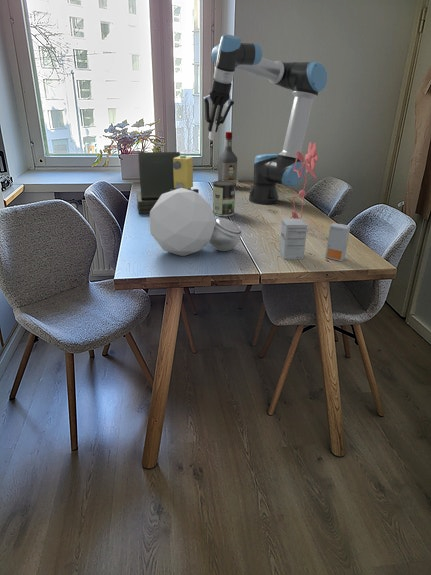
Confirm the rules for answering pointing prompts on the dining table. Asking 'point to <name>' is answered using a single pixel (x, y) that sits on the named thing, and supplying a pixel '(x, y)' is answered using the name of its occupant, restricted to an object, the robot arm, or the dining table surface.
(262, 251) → the dining table surface
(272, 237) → the dining table surface
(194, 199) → the lamp
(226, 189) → the coffee can
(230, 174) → the liquor
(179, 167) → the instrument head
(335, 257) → the skincare box
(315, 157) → the figurine
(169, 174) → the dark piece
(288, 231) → the supplement box
